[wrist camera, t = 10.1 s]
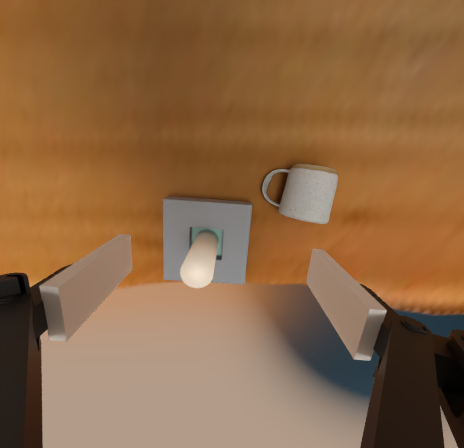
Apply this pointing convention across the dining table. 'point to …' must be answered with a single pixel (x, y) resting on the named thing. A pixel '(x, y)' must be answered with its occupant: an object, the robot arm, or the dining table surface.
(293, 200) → the ceramic mug
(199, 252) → the dowel pin
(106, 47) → the dining table surface
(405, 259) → the dining table surface
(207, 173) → the dining table surface
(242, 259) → the bore block
